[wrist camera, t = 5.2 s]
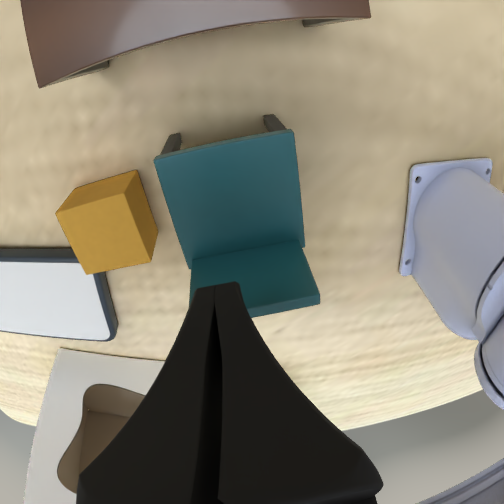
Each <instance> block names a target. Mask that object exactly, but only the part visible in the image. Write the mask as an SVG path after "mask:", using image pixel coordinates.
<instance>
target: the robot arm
mask: <svg viewBox="0 0 504 504" xmlns="http://www.w3.org/2000/svg"><path fill="white" fill-rule="evenodd" d="M486 170H487V171H486ZM491 171H492V160H491V159H489V158H476V159H464V160H453V161H442V162H432V163H423V164H416V165H414V166H412V168H411V170H410V181H409V194H408V205H407V215H406V224H405V233H404V240H403V248H402V255H401V261H400V268H399V272H400V274H401V275H402V276H407V275H412V276H413V278H414V279H415V280H416V282H417V283H418V285H419V286H420V288H421V289H422V291H423V292H424V294H425V295H426V297H427V298H428V300H429V301H430V303H431V305H432V306H433V308H434V309H435V311H436V312H437V314H438V316H439V317H440V319H441V320H442V322H443V323H444V324H445V326H446V327H447V328H449V329H450V330H451V331H452V332H454V333H455V334H457V335H459V336H461V337H463V338H466V339H470V340H478V341H479V343H478V345H477V347H476V350H475V354H474V365H475V370H476V373H477V376H478V379H479V382H480V384H481V386H482V388H483V390H484V391H485V393H486V394H487V396H488V397H489V398H490V399H491V400H492V401H493V402H494V403H495V404H496V405H497V406H499V407H500V408H502V409H503V410H504V194H503V193H502V192H501V191H499V190H498V189H497V188H495V187H494V186H493V185H491V184H490V178H491ZM416 177H418V179H417V180H416V181H415V179H416ZM406 260H407V261H406ZM382 487H383V482H382V479H381V477H380V475H379V472H378V471H377V469H376V467H375V466H374V464H373V463H372V462H371V460H370V459H369V458H368V456H367V455H366V453H365V452H364V451H363V449H362V448H361V447H360V446H358V445H357V444H356V443H355V442H353V441H352V440H351V439H350V438H349V437H347V436H346V435H345V434H344V433H343V432H342V431H341V430H339V429H338V428H337V427H336V426H335V425H334V424H333V423H332V422H331V421H330V420H329V419H328V418H326V417H325V416H324V415H323V414H322V413H321V412H320V411H319V410H318V409H317V408H316V406H315V405H314V404H313V403H312V402H311V401H310V400H309V399H308V398H307V397H306V396H305V395H304V394H303V393H302V392H301V390H300V389H299V388H298V387H297V386H296V384H295V383H294V382H293V381H292V380H291V378H290V377H289V376H288V375H287V373H286V372H285V371H284V369H283V368H282V367H281V366H280V364H279V363H278V361H277V360H276V359H275V357H274V356H273V354H272V353H271V351H270V350H269V348H268V347H267V345H266V344H265V342H264V340H263V339H262V337H261V335H260V334H259V332H258V330H257V328H256V326H255V325H254V323H253V321H252V319H251V317H250V315H249V313H248V311H247V308H246V306H245V303H244V300H243V296H242V292H241V288H240V284H239V283H238V282H236V281H234V282H228V283H223V284H217V285H212V286H206V287H201V288H197V289H196V290H195V292H194V295H193V298H192V301H191V304H190V307H189V309H188V312H187V314H186V317H185V319H184V322H183V324H182V327H181V329H180V331H179V333H178V336H177V338H176V340H175V342H174V345H173V347H172V349H171V351H170V353H169V355H168V357H167V359H166V361H165V363H164V365H163V367H162V368H161V370H160V372H159V374H158V376H157V377H156V379H155V381H154V383H153V384H152V386H151V387H150V389H149V391H148V392H147V394H146V396H145V397H144V398H143V400H142V401H141V403H140V404H139V406H138V407H137V409H136V410H135V412H134V413H133V415H132V416H131V417H130V419H129V420H128V421H127V423H126V424H125V425H124V426H123V427H122V429H121V430H120V431H119V432H118V434H117V435H116V436H115V437H114V438H113V440H112V441H111V442H110V443H109V445H108V446H107V447H106V448H105V449H104V450H103V451H102V452H101V453H100V454H99V455H98V456H97V457H96V458H95V459H94V460H93V461H92V462H91V463H90V464H89V465H88V466H87V467H86V468H85V469H84V470H83V471H82V472H81V473H80V474H79V479H78V484H77V496H76V504H377V501H376V497H375V494H377V493H378V492H379V491H380V490H381V489H382ZM417 504H504V458H503V459H501V460H500V461H498V462H497V463H495V464H493V465H492V466H490V467H488V468H487V469H485V470H483V471H482V472H480V473H478V474H476V475H475V476H473V477H471V478H469V479H467V480H465V481H464V482H462V483H460V484H458V485H456V486H454V487H452V488H450V489H448V490H446V491H444V492H441V493H439V494H437V495H435V496H433V497H431V498H428V499H426V500H424V501H421V502H419V503H417Z"/></svg>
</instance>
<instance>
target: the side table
mask: <svg viewBox="0 0 504 504" xmlns="http://www.w3.org/2000/svg"><path fill="white" fill-rule="evenodd" d="M20 1H21V8H22V14H23V20H24V26H25V31H26V36H27V41H28V46H29V51H30V55H31V59H32V64H33V68H34V72H35V76H36V80H37V83H38V87H39V88H43V87H46V86H49V85H52V84H55V83H58V82H62V81H65V80H68V79H72V78H75V77H79V76H83V75H87V74H90V73H94V72H98V71H101V70H103V69H106V68H108V67H109V64H108V60H110V59H112V58H115V57H118V56H121V55H124V54H127V53H130V52H133V51H136V50H139V49H142V48H146V47H149V46H153V45H156V44H160V43H163V42H167V41H171V40H175V39H179V38H183V37H187V36H191V35H196V34H200V33H205V32H210V31H215V30H221V29H226V28H232V27H239V26H245V25H252V24H260V23H269V22H279V21H291V20H303V26H304V27H313V26H321V25H326V24H332V23H338V22H345V21H352V20H359V19H368V18H371V13H370V7H369V0H20Z"/></svg>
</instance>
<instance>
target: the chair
mask: <svg viewBox="0 0 504 504" xmlns="http://www.w3.org/2000/svg"><path fill="white" fill-rule="evenodd" d="M263 117H264V124H265V126H266V128H267V129H268V131H269V132H267V133H261V134H256V135H250V136H244V137H239V138H234V139H229V140H224V141H219V142H214V143H209V144H205V145H200V146H196V147H191V148H187V149H183V150H179V149H180V146H181V143H182V140H181V136H180V133H176V134H172V135H170V136H169V138H168V140H167V142H166V144H165V146H164V148H163V150H162V152H161V154H160V155H159V156H156V157H155V159H154V164H155V168H156V171H157V174H158V177H159V181H160V184H161V187H162V190H163V193H164V197H165V200H166V203H167V206H168V209H169V212H170V215H171V218H172V221H173V224H174V227H175V230H176V233H177V236H178V239H179V242H180V245H181V248H182V251H183V254H184V256H185V259H186V262H187V265H188V268H189V269H191V282H190V299H189V307H190V304H191V301H192V298H193V295H194V292H195V290H196V289H197V288H201V287H206V286H212V285H217V284H223V283H228V282H234V281H236V282H238V283H239V284H240V288H241V292H242V296H243V300H244V303H245V306H246V308H247V311H248V313H249V315H250V317H251V318H253V317H258V316H264V315H269V314H274V313H279V312H284V311H289V310H294V309H299V308H303V307H308V306H313V305H317V304H320V293H319V290H318V288H317V285H316V282H315V280H314V277H313V275H312V272H311V269H310V267H309V264H308V262H307V259H306V257H305V254H304V252H303V249H302V248H304V247H305V238H304V226H303V214H302V204H301V193H300V183H299V174H298V164H297V155H296V147H295V138H294V132H293V131H292V130H291V129H286V128H285V126H284V125H283V124H282V123H281V122H280V121H279V120H278V118H277V117H276V116H275V115H274V114H271V115H264V116H263Z"/></svg>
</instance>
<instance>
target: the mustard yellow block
mask: <svg viewBox="0 0 504 504" xmlns="http://www.w3.org/2000/svg"><path fill="white" fill-rule="evenodd" d="M55 214H56V216H57V219H58V221H59V223H60V225H61V227H62V229H63V231H64V233H65V235H66V237H67V239H68V241H69V243H70V245H71V247H72V249H73V251H74V253H75V255H76V257H77V259H78V261H79V262H80V264H81V266H82V268H83V270H84V272H85V274H86V275H89V274H94V273H99V272H104V271H109V270H114V269H118V268H123V267H128V266H133V265H138V264H143V263H148V262H151V260H152V256H153V251H154V247H155V243H156V239H157V235H158V229H157V227H156V224H155V221H154V218H153V216H152V213H151V210H150V207H149V204H148V201H147V198H146V196H145V193H144V190H143V187H142V184H141V181H140V178H139V175H138V172H137V170H134V171H131V172H127V173H124V174H120V175H117V176H113V177H110V178H107V179H103V180H100V181H97V182H94V183H90V184H87V185H84V186H81V187H78V188H75V189H74V190H73V191H72V193H71V194H70V195H69V196H68V198H67V199H66V200H65V201H64V203H63V204H62V205H61V206H60V208H59V209H58V210H57V212H56V213H55Z"/></svg>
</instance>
